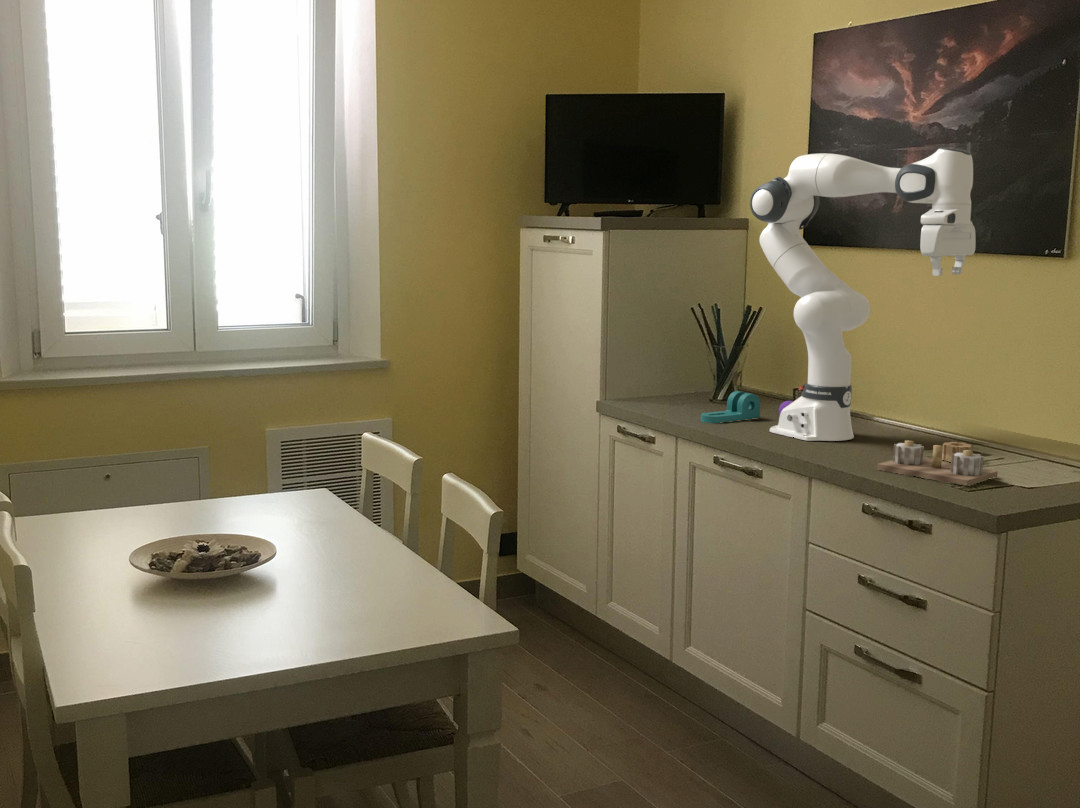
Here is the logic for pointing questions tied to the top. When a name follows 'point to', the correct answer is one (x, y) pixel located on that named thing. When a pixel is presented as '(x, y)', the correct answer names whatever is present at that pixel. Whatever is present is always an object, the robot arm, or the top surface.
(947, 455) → the oak gear
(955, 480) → the gear board
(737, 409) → the bracket
